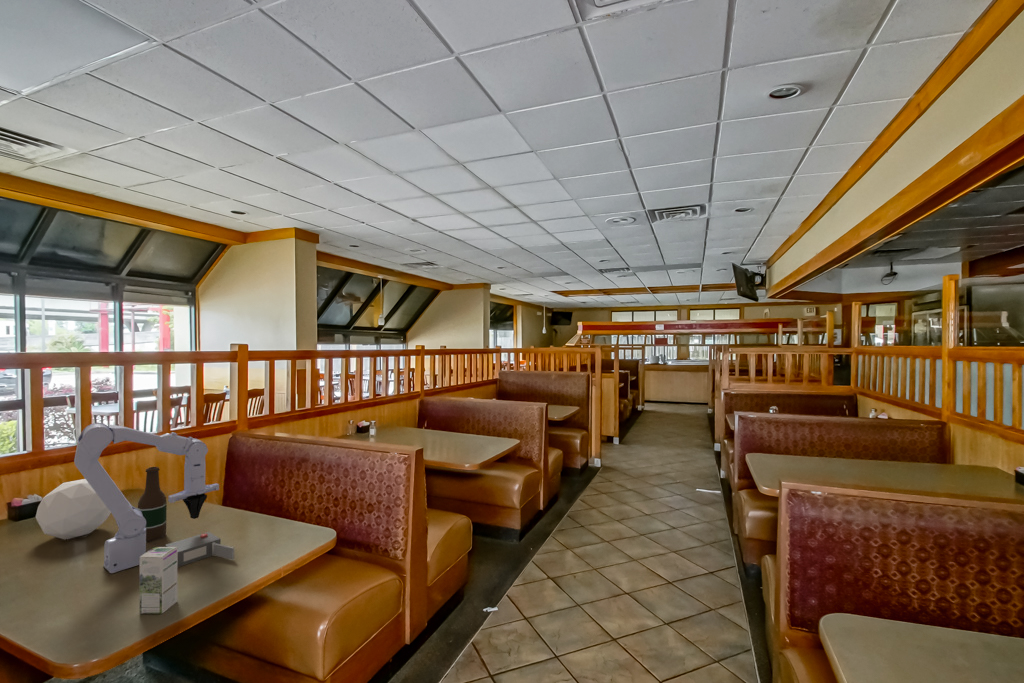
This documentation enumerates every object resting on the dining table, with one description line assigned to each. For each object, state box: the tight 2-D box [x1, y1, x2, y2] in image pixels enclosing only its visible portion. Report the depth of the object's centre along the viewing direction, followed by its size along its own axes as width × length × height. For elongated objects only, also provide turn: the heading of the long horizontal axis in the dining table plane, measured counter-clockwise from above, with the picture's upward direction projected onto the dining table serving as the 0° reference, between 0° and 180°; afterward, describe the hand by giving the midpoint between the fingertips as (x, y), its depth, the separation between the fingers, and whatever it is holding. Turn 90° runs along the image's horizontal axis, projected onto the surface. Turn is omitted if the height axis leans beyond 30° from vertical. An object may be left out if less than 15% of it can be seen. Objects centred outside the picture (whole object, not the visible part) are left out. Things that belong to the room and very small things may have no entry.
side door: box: [211, 542, 235, 561], centre depth 140 cm, size 9×1×4 cm, turn 70°
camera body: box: [164, 531, 221, 568], centre depth 141 cm, size 13×9×5 cm
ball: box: [35, 478, 112, 541], centre depth 156 cm, size 19×20×20 cm
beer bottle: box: [137, 466, 168, 543], centre depth 155 cm, size 8×8×24 cm
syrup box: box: [139, 546, 178, 615], centre depth 114 cm, size 6×6×14 cm
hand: (194, 517), depth 149 cm, fingers closed
